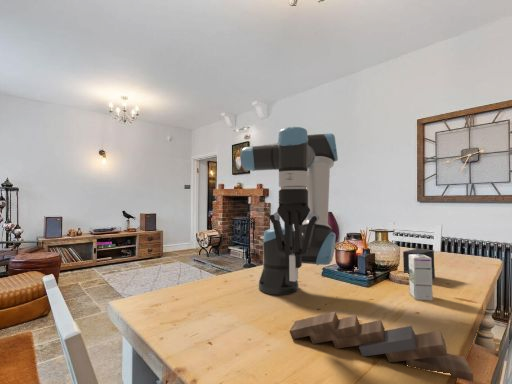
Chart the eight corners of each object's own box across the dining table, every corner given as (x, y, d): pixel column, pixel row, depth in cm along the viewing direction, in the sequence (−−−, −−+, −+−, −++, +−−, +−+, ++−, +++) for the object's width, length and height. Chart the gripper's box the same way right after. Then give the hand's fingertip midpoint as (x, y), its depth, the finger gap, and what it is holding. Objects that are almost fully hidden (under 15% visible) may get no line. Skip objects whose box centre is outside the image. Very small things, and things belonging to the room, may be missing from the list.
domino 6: (406, 358, 56) (472, 373, 52) (404, 344, 62) (464, 357, 57) (406, 368, 56) (473, 384, 52) (404, 353, 62) (464, 366, 57)
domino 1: (289, 331, 67) (332, 321, 63) (295, 320, 73) (335, 311, 69) (292, 339, 67) (335, 330, 63) (298, 328, 72) (338, 319, 68)
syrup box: (433, 301, 92) (432, 257, 93) (414, 299, 94) (413, 257, 94) (426, 295, 98) (425, 254, 98) (408, 294, 99) (408, 253, 100)
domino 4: (358, 347, 60) (411, 338, 55) (362, 334, 65) (411, 325, 60) (362, 356, 60) (416, 348, 55) (366, 343, 65) (415, 335, 60)
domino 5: (385, 352, 58) (442, 344, 53) (387, 339, 63) (439, 330, 58) (389, 362, 57) (447, 355, 52) (391, 348, 63) (444, 340, 58)
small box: (418, 274, 126) (418, 247, 126) (435, 277, 120) (434, 250, 120) (403, 278, 119) (402, 250, 119) (419, 282, 113) (419, 253, 113)
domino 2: (309, 335, 65) (355, 325, 61) (314, 324, 71) (356, 315, 67) (312, 344, 65) (358, 334, 61) (317, 332, 70) (359, 323, 67)
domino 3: (332, 340, 63) (380, 331, 59) (336, 328, 69) (380, 319, 64) (335, 348, 63) (384, 340, 59) (339, 337, 68) (384, 328, 64)
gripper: (264, 188, 70) (264, 280, 70) (314, 187, 65) (315, 287, 65) (275, 188, 77) (275, 272, 77) (321, 188, 72) (322, 278, 71)
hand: (293, 279), depth 71 cm, fingers closed
